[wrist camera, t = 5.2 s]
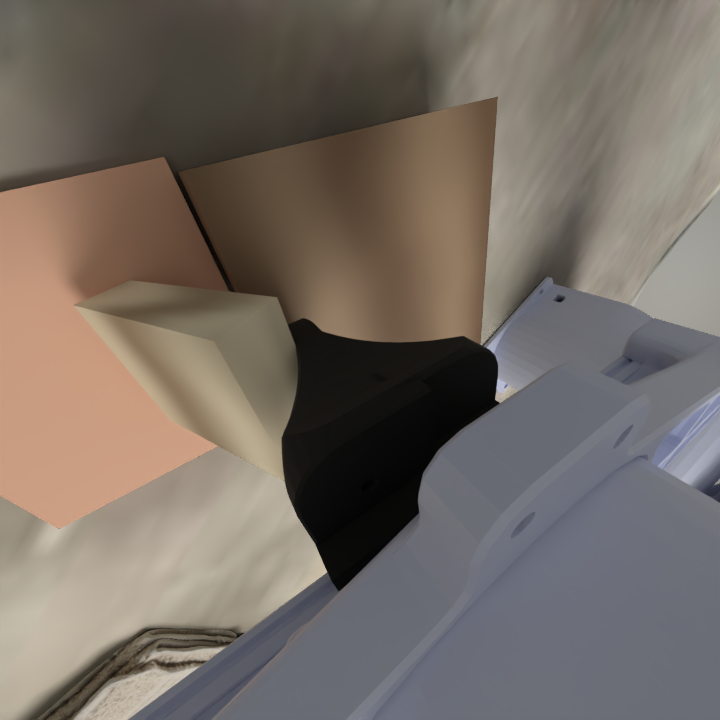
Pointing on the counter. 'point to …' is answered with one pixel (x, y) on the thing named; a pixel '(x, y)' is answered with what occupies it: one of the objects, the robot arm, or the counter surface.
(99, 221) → the mat
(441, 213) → the brown flat block
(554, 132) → the counter surface
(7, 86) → the counter surface
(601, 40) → the counter surface
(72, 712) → the washcloth
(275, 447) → the tile
